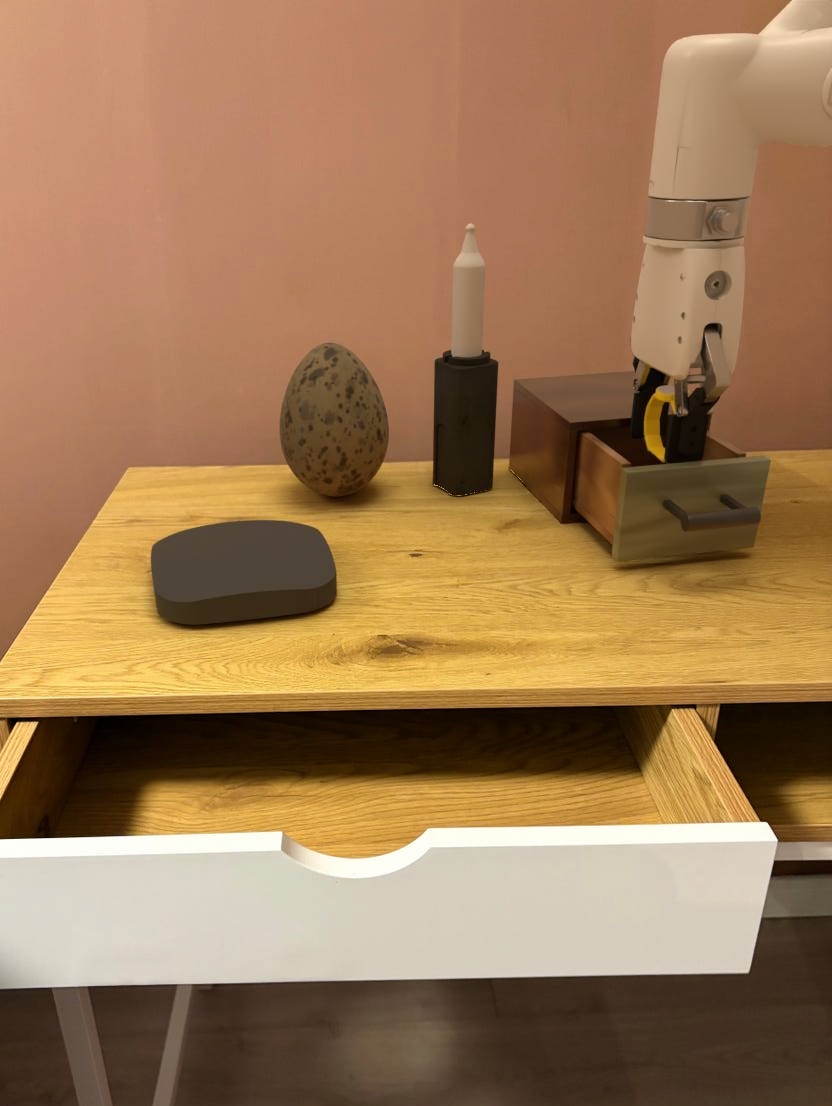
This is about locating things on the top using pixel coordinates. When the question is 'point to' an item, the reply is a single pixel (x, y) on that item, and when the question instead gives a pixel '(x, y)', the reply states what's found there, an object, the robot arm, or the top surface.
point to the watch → (657, 419)
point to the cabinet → (563, 429)
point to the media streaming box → (242, 572)
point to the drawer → (667, 495)
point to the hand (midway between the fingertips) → (664, 446)
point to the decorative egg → (333, 422)
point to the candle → (465, 386)
